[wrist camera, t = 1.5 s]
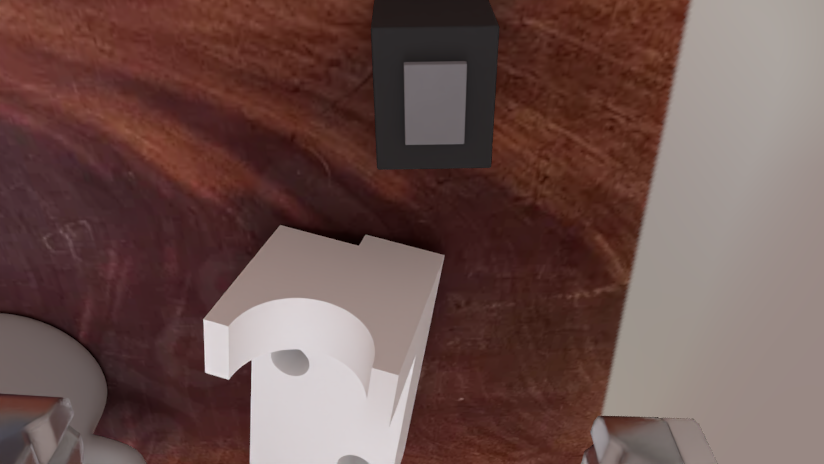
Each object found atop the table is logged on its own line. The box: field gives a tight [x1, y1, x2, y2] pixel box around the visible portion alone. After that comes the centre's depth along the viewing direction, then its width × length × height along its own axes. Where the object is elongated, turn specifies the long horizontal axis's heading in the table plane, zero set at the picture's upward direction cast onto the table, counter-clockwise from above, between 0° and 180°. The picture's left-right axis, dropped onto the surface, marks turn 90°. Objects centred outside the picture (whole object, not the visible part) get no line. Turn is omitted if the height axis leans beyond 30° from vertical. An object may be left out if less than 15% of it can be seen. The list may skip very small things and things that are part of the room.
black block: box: [371, 0, 499, 170], centre depth 24 cm, size 4×5×4 cm
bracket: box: [203, 225, 445, 464], centre depth 30 cm, size 13×7×8 cm, turn 172°
